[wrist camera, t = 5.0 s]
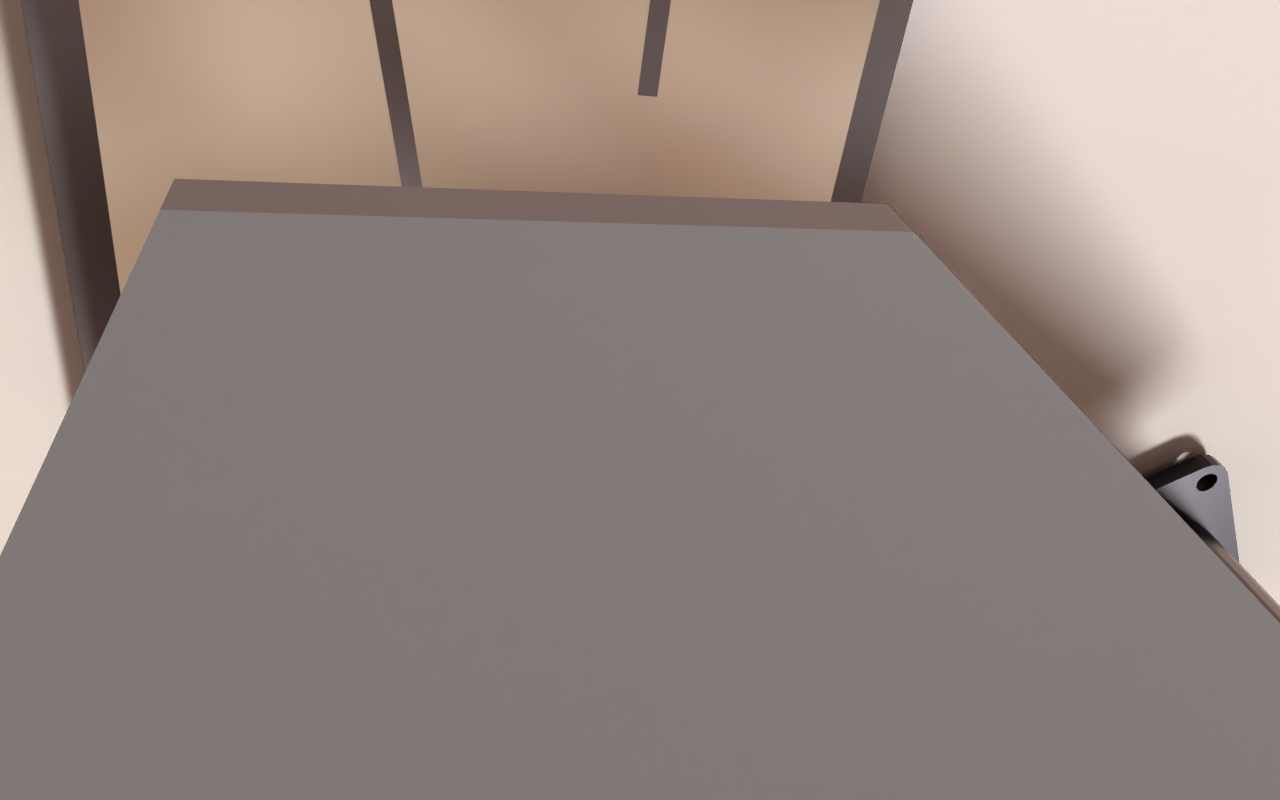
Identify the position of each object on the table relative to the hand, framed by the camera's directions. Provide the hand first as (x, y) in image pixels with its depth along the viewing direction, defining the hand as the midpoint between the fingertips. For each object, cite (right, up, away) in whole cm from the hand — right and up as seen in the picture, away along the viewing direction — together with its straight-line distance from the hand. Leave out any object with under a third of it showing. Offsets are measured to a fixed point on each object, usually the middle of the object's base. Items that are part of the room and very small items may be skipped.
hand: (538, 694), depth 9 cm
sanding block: (0, 0, +1) cm, 1 cm away
